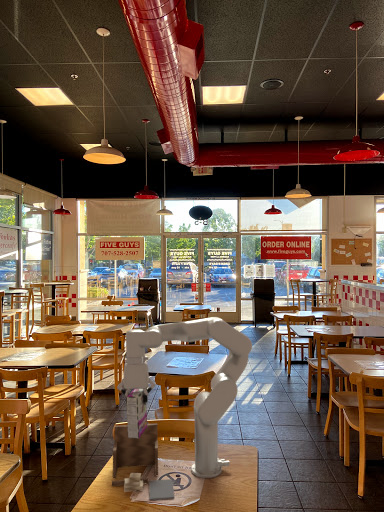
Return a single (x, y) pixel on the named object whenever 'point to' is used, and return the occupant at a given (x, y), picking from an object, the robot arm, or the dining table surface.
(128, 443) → the stand
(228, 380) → the robot arm
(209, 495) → the dining table surface
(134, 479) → the offcut stack
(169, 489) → the mat
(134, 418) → the candy bar box
